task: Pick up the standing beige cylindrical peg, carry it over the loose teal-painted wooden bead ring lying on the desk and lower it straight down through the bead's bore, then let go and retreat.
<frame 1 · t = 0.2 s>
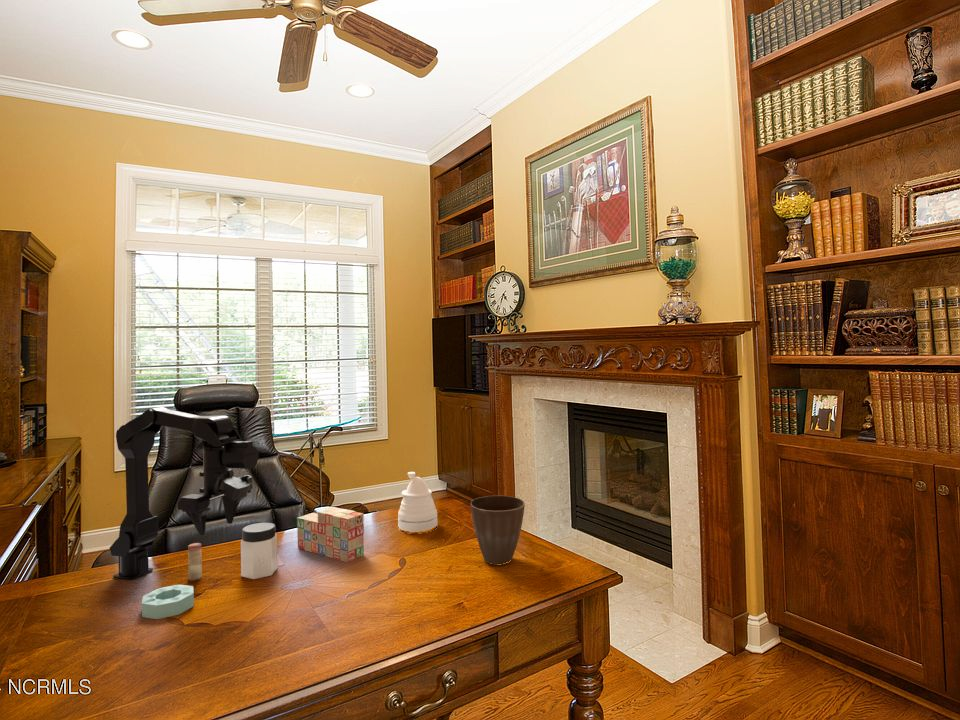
hand: (216, 529, 134), 14 cm above the table, fingers open, 9 cm apart
beige cylindrical peg: (195, 578, 138), on the table
bead: (168, 607, 121), on the table
jar: (259, 573, 141), on the table
plant pot: (498, 561, 147), on the table
stack of blocks: (330, 552, 155), on the table
honey pot: (417, 527, 177), on the table
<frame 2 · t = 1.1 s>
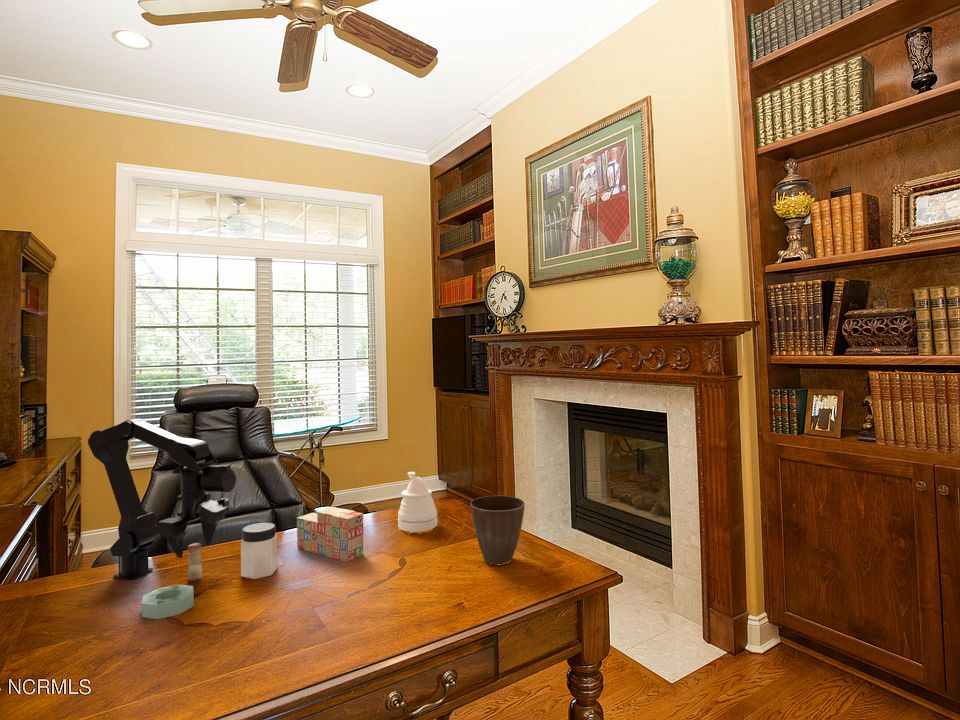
hand: (194, 551, 138), 7 cm above the table, fingers open, 9 cm apart
nothing on the table moved.
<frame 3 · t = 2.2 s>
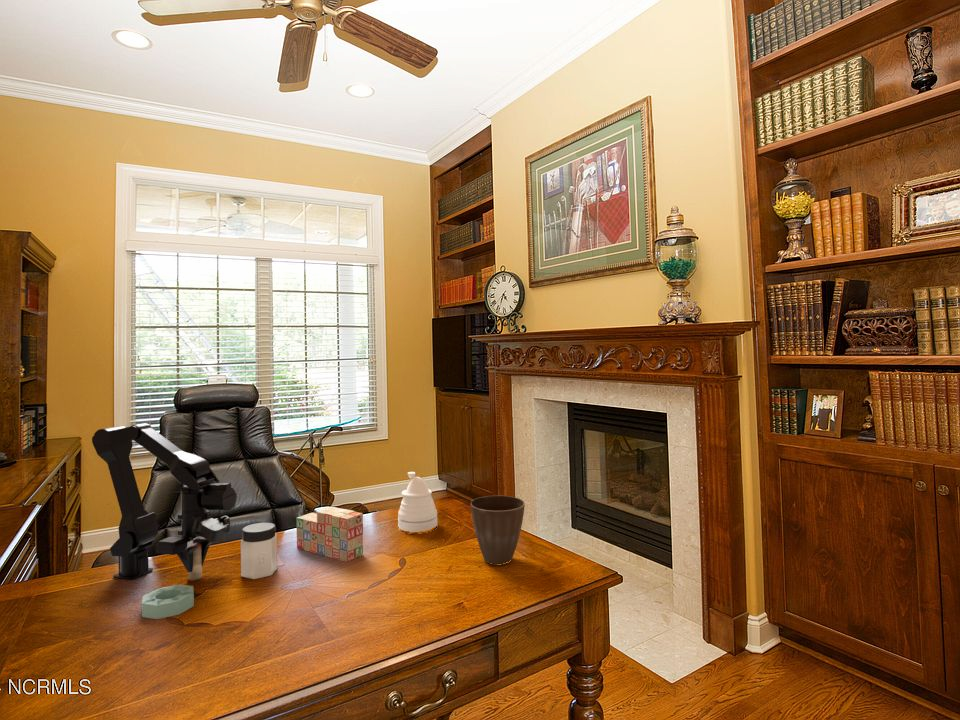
hand: (195, 569, 138), 2 cm above the table, fingers closed on beige cylindrical peg, 3 cm apart
beige cylindrical peg: (195, 578, 138), on the table, touching gripper
everything else where it was.
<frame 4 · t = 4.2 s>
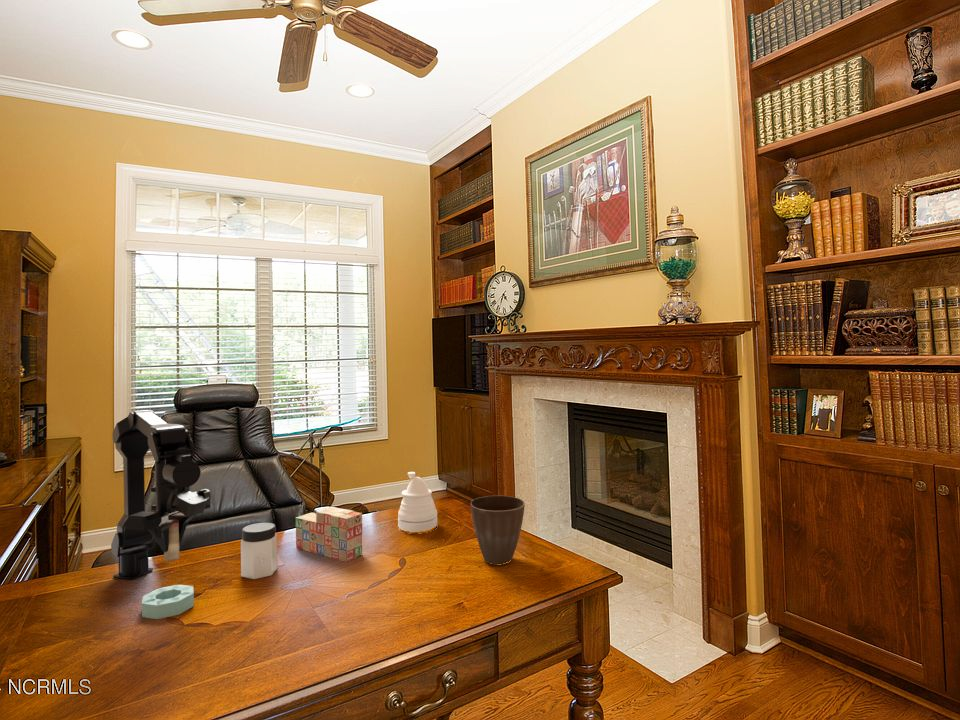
hand: (171, 549, 123), 13 cm above the table, fingers closed on beige cylindrical peg, 3 cm apart
beige cylindrical peg: (171, 558, 123), point 11 cm above the table, touching gripper
everything else where it was.
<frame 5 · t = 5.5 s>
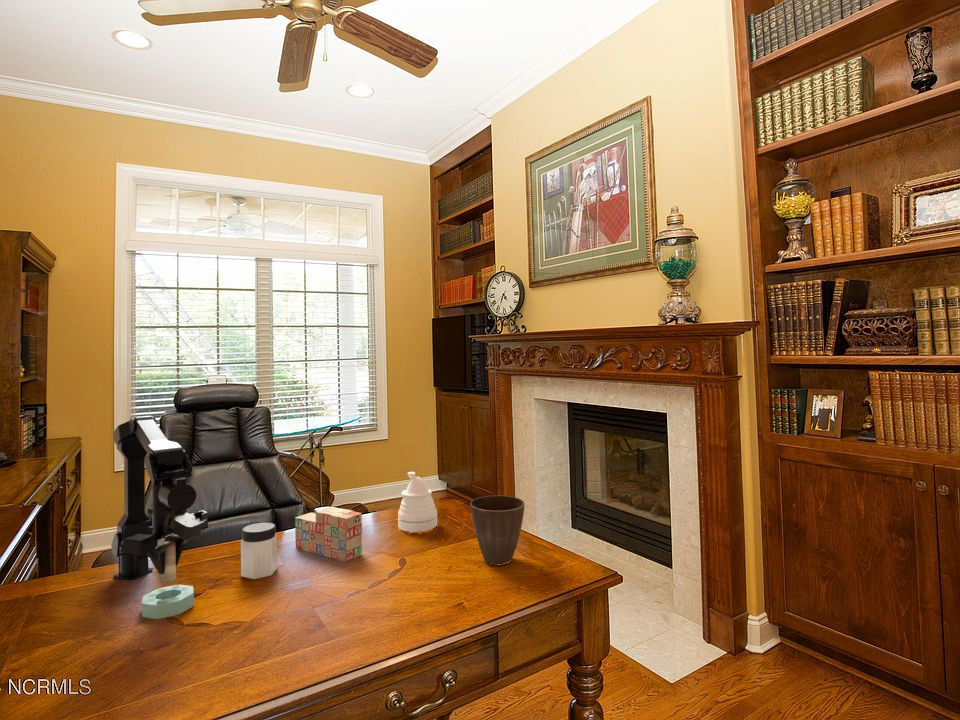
hand: (167, 570, 121), 8 cm above the table, fingers closed on beige cylindrical peg, 3 cm apart
beige cylindrical peg: (168, 580, 121), point 6 cm above the table, touching gripper
everything else where it was.
when the fingers open (4 cm above the table, at t = 6.5 s): beige cylindrical peg drops 2 cm, resting in bead.
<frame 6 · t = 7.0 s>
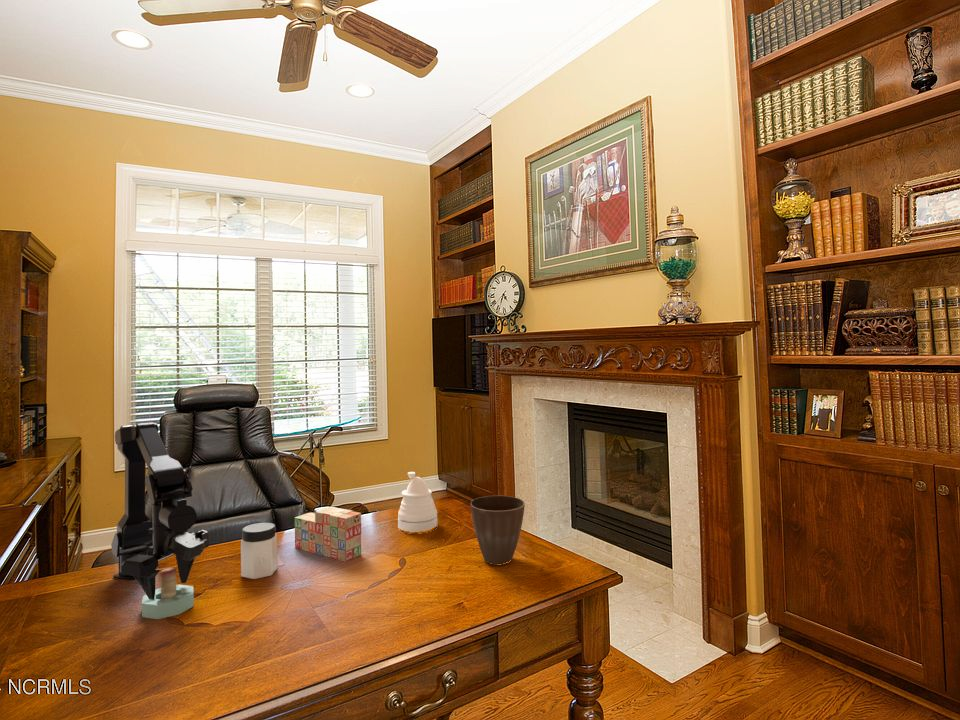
hand: (168, 590, 121), 4 cm above the table, fingers open, 8 cm apart
beige cylindrical peg: (168, 607, 121), resting in bead
everything else where it was.
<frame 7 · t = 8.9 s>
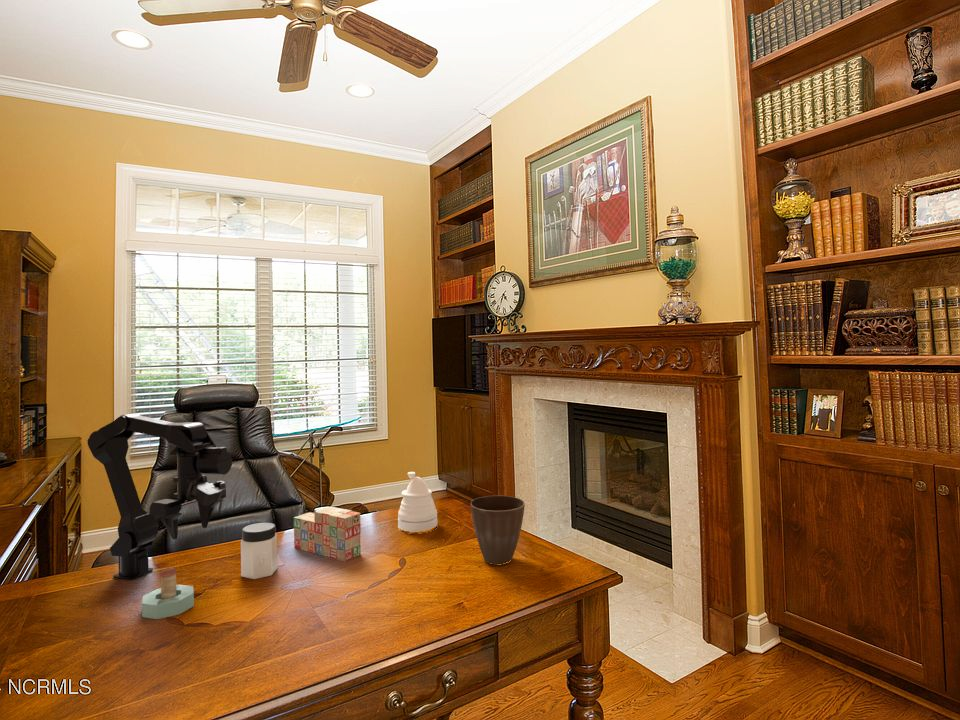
hand: (190, 533, 137), 12 cm above the table, fingers open, 9 cm apart
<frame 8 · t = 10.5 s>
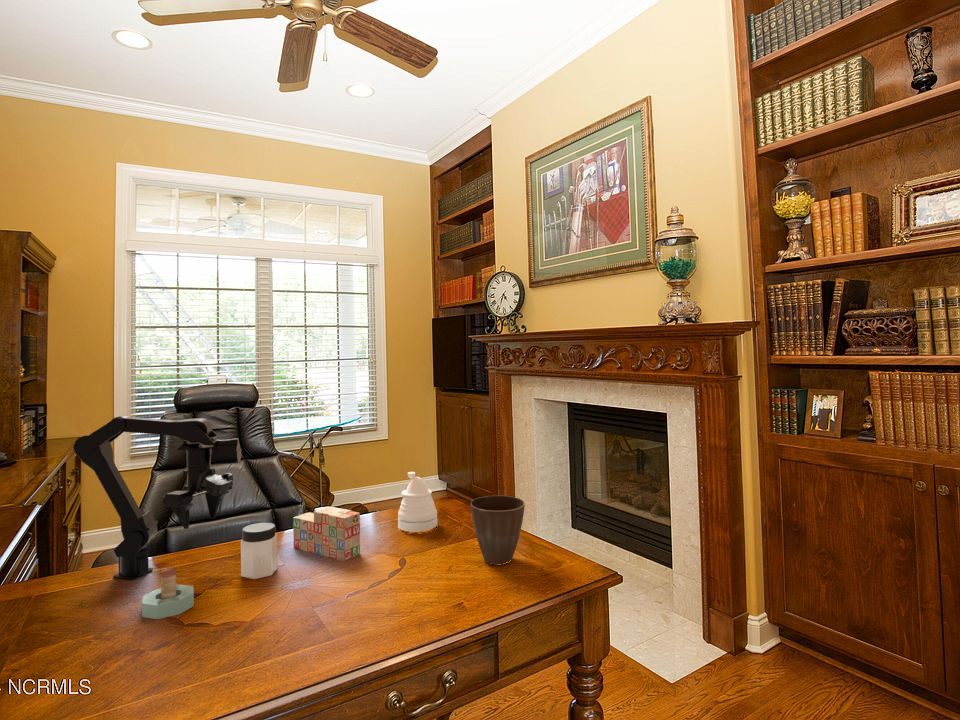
hand: (199, 523, 145), 12 cm above the table, fingers open, 9 cm apart
at the end: beige cylindrical peg 0.1 cm from the bead (horizontally); beige cylindrical peg resting in bead; beige cylindrical peg tilted 0° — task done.
